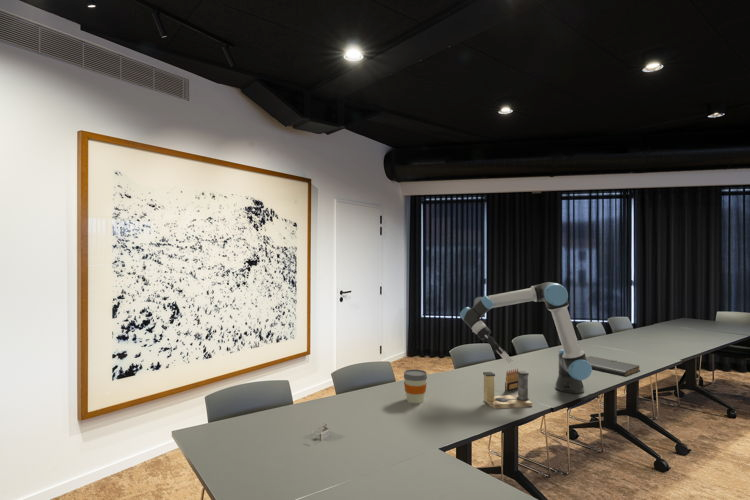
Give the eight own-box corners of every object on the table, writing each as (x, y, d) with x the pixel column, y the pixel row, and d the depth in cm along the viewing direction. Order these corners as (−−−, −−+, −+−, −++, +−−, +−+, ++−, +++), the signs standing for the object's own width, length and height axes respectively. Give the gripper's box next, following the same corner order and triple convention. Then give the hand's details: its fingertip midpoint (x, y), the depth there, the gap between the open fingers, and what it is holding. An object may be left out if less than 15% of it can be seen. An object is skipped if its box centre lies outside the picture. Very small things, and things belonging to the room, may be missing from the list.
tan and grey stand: (522, 398, 229) (522, 368, 229) (534, 406, 217) (534, 375, 217) (484, 400, 226) (484, 370, 226) (493, 408, 214) (493, 376, 214)
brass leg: (491, 398, 223) (491, 371, 223) (494, 401, 218) (495, 374, 218) (483, 398, 222) (483, 372, 222) (486, 401, 217) (486, 374, 217)
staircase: (323, 435, 182) (323, 423, 182) (329, 438, 180) (329, 425, 180) (312, 440, 177) (312, 427, 177) (318, 443, 175) (318, 430, 175)
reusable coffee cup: (426, 405, 218) (426, 376, 218) (402, 403, 221) (402, 375, 221) (427, 397, 230) (427, 370, 231) (405, 395, 233) (405, 368, 233)
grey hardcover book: (639, 364, 286) (624, 371, 271) (639, 371, 286) (624, 377, 271) (590, 355, 312) (574, 361, 297) (590, 361, 312) (574, 366, 297)
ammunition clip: (507, 392, 239) (507, 371, 239) (504, 391, 241) (504, 370, 241) (519, 389, 245) (519, 368, 245) (517, 388, 247) (517, 367, 247)
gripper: (481, 338, 246) (507, 367, 234) (471, 331, 225) (499, 362, 213) (491, 330, 245) (517, 358, 233) (481, 321, 224) (510, 352, 213)
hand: (508, 360), depth 223 cm, fingers open, 13 cm apart
